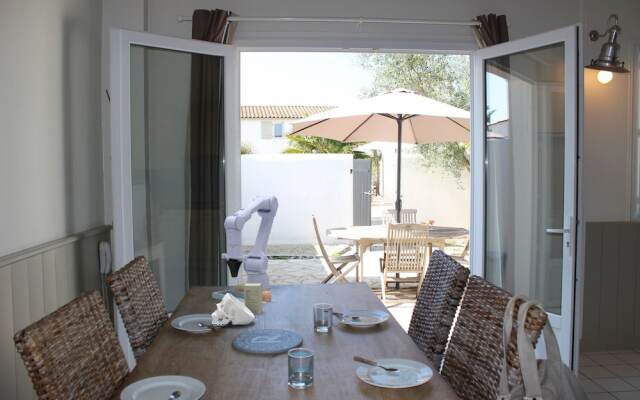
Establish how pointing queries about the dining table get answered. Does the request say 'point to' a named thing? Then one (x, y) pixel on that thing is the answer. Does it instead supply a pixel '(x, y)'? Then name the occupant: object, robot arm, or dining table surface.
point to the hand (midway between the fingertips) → (234, 277)
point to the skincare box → (253, 298)
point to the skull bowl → (231, 312)
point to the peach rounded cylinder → (266, 296)
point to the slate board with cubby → (236, 294)
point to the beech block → (239, 288)
